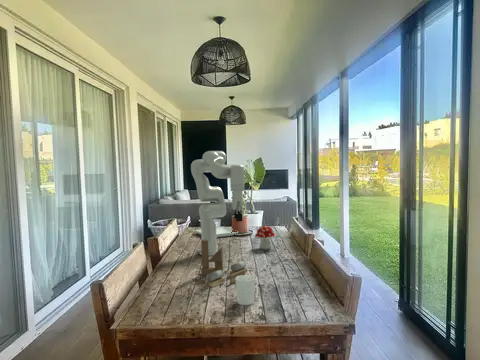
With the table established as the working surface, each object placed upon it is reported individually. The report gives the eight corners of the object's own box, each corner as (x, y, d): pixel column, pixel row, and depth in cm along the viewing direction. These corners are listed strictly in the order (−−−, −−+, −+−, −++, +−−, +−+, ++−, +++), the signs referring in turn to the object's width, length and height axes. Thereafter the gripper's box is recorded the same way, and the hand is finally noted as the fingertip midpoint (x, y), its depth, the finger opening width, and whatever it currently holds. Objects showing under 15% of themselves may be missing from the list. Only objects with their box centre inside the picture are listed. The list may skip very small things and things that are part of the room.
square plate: (206, 240, 259) (206, 235, 259) (193, 234, 283) (193, 229, 283) (239, 236, 272) (238, 231, 271) (224, 230, 296) (224, 225, 296)
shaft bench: (205, 285, 164) (204, 273, 163) (239, 270, 184) (239, 260, 184) (220, 289, 158) (220, 277, 157) (254, 273, 178) (254, 263, 178)
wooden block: (222, 276, 176) (221, 240, 175) (201, 275, 177) (200, 240, 176) (223, 273, 180) (222, 239, 179) (202, 273, 181) (201, 239, 180)
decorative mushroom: (251, 250, 225) (251, 227, 225) (258, 245, 238) (258, 223, 237) (272, 251, 220) (272, 228, 219) (278, 246, 233) (278, 224, 232)
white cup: (235, 298, 146) (234, 275, 146) (254, 297, 147) (253, 274, 146) (236, 306, 139) (236, 281, 138) (256, 305, 139) (255, 280, 139)
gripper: (229, 187, 195) (230, 217, 196) (231, 189, 178) (232, 222, 179) (242, 186, 196) (243, 217, 197) (246, 189, 179) (247, 222, 180)
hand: (238, 219), depth 188 cm, fingers open, 9 cm apart
